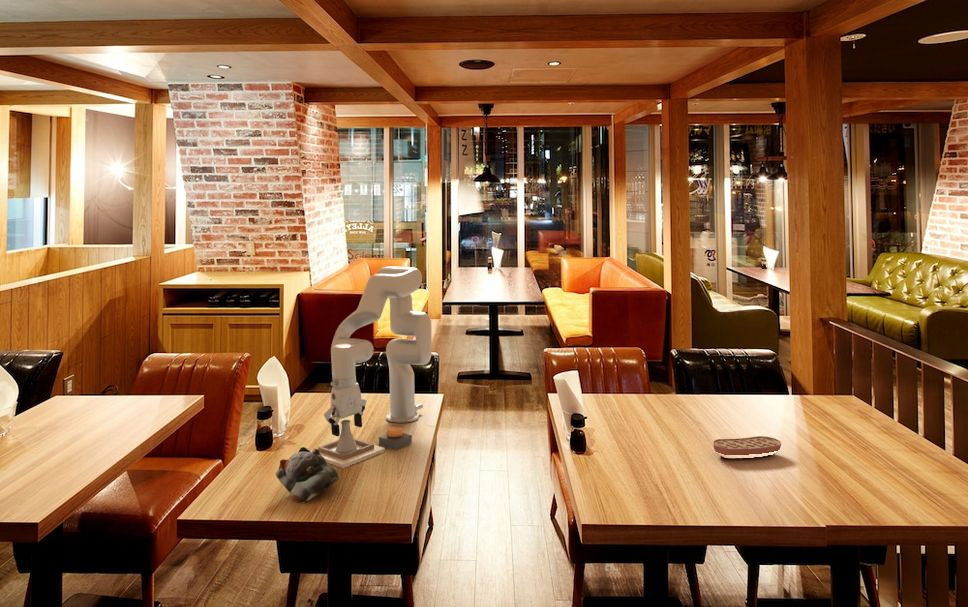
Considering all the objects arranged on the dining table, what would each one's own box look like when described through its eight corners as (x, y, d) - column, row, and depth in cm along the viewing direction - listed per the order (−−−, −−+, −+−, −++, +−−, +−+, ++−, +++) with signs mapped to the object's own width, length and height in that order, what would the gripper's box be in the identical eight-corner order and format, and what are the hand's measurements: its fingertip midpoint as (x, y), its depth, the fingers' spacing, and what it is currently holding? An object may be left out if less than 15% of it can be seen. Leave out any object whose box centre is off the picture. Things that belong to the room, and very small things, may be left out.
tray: (349, 440, 226) (348, 432, 226) (384, 451, 215) (384, 443, 215) (307, 455, 212) (306, 447, 211) (343, 468, 201) (343, 460, 201)
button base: (395, 438, 227) (395, 430, 227) (411, 443, 223) (411, 435, 222) (378, 445, 221) (378, 436, 221) (395, 450, 216) (395, 441, 216)
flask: (352, 454, 209) (351, 425, 208) (331, 452, 211) (330, 423, 209) (360, 446, 216) (360, 418, 215) (341, 445, 218) (340, 416, 216)
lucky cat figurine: (297, 508, 174) (274, 462, 174) (288, 508, 184) (267, 465, 184) (345, 480, 181) (323, 436, 182) (335, 481, 192) (314, 440, 192)
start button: (395, 437, 226) (395, 425, 225) (407, 441, 222) (407, 429, 222) (383, 442, 221) (382, 430, 221) (395, 446, 218) (395, 433, 217)
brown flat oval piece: (768, 449, 217) (769, 435, 216) (787, 460, 207) (789, 445, 207) (707, 454, 213) (707, 439, 212) (723, 465, 203) (724, 450, 202)
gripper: (331, 390, 201) (334, 441, 204) (371, 377, 215) (374, 425, 218) (315, 386, 206) (319, 436, 209) (356, 373, 219) (359, 420, 222)
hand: (347, 430), depth 213 cm, fingers open, 9 cm apart
